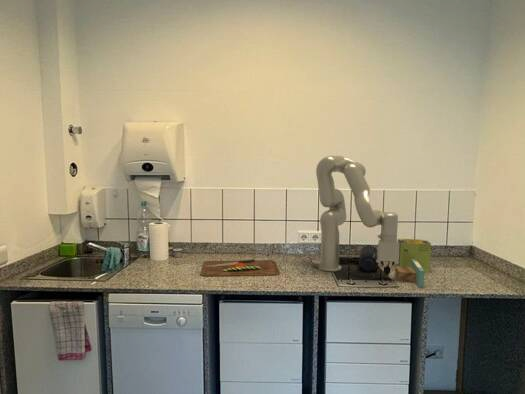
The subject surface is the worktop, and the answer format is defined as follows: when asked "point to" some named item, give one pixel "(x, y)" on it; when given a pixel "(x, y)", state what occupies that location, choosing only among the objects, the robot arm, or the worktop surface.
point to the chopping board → (239, 268)
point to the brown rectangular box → (405, 274)
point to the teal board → (418, 273)
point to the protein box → (414, 253)
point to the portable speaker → (368, 258)
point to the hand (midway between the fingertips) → (386, 274)
